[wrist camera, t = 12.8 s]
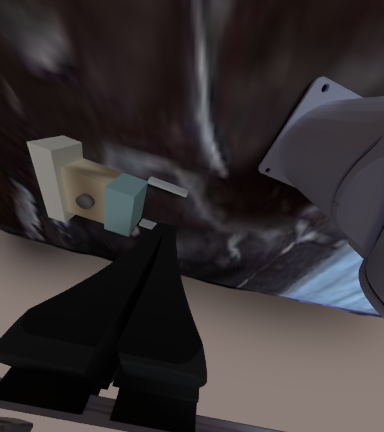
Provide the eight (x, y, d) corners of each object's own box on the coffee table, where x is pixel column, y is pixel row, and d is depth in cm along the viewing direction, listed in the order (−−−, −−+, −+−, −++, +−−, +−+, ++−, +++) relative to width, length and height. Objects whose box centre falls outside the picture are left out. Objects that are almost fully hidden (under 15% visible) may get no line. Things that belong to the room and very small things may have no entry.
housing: (125, 173, 18) (105, 188, 15) (122, 210, 22) (105, 229, 18) (84, 157, 18) (54, 169, 14) (87, 198, 21) (63, 215, 18)
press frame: (190, 184, 18) (185, 201, 15) (171, 234, 23) (164, 254, 20) (63, 135, 16) (26, 141, 13) (72, 200, 22) (48, 216, 18)
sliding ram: (148, 181, 18) (134, 197, 15) (141, 217, 22) (128, 236, 18) (123, 172, 18) (104, 186, 15) (120, 210, 21) (104, 228, 18)
